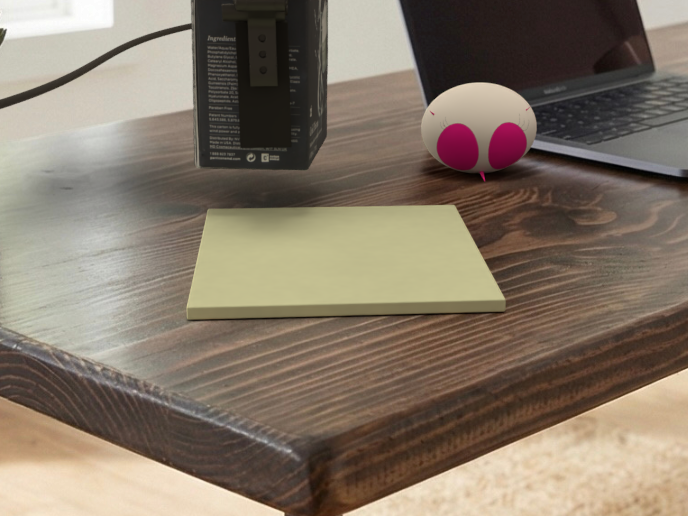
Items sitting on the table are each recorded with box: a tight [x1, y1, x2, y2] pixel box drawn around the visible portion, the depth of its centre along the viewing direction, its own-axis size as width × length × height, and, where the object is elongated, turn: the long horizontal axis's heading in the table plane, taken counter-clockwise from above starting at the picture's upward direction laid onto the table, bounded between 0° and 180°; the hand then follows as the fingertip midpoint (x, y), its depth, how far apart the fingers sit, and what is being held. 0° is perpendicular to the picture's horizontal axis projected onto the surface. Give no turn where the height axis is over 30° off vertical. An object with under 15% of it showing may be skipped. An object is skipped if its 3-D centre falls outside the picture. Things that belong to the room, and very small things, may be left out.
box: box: [190, 0, 329, 172], centre depth 74 cm, size 11×7×10 cm, turn 179°
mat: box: [185, 204, 507, 321], centre depth 65 cm, size 18×14×1 cm
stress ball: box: [420, 82, 538, 182], centre depth 85 cm, size 8×8×7 cm
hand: (266, 127), depth 75 cm, fingers closed on box, 11 cm apart
